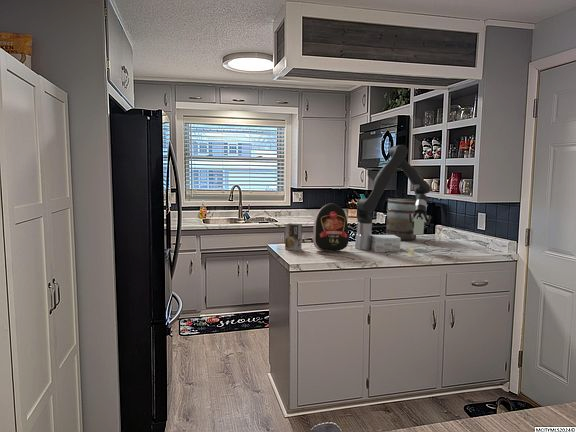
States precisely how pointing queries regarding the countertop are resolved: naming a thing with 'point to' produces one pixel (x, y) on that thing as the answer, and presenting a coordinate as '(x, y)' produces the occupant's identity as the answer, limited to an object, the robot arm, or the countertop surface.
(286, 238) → the coffee box
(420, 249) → the mat
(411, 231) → the barrel
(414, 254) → the butter plate
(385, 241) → the supplement box
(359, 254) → the countertop surface
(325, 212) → the packaged food
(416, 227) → the grey rectangular block
